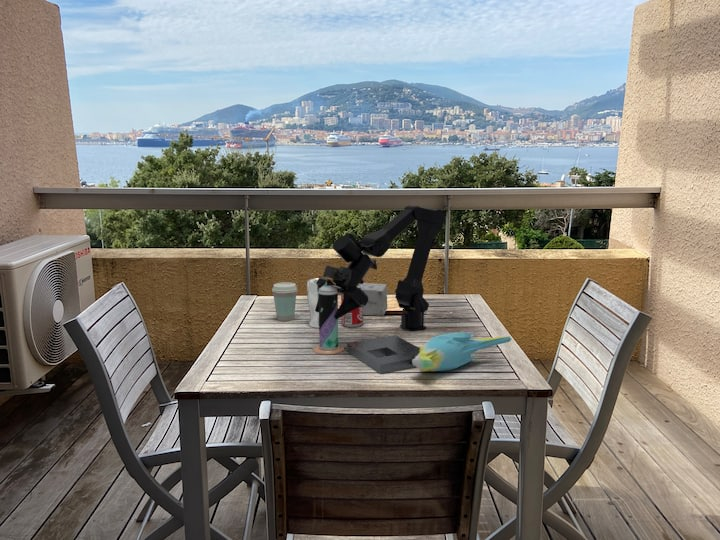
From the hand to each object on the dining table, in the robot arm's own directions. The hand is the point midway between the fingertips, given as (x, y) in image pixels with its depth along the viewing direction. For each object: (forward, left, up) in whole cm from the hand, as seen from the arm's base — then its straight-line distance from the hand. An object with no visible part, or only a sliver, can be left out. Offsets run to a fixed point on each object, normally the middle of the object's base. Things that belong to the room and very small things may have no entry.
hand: (325, 314), depth 175 cm
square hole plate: (-13, +14, -10) cm, 22 cm away
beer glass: (-8, -24, -11) cm, 28 cm away
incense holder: (-30, -28, -11) cm, 42 cm away
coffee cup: (-1, -36, -11) cm, 38 cm away
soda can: (-18, -19, -11) cm, 28 cm away
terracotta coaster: (-1, 0, -10) cm, 10 cm away
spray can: (-1, 0, -10) cm, 10 cm away
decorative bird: (-23, +33, -11) cm, 42 cm away
